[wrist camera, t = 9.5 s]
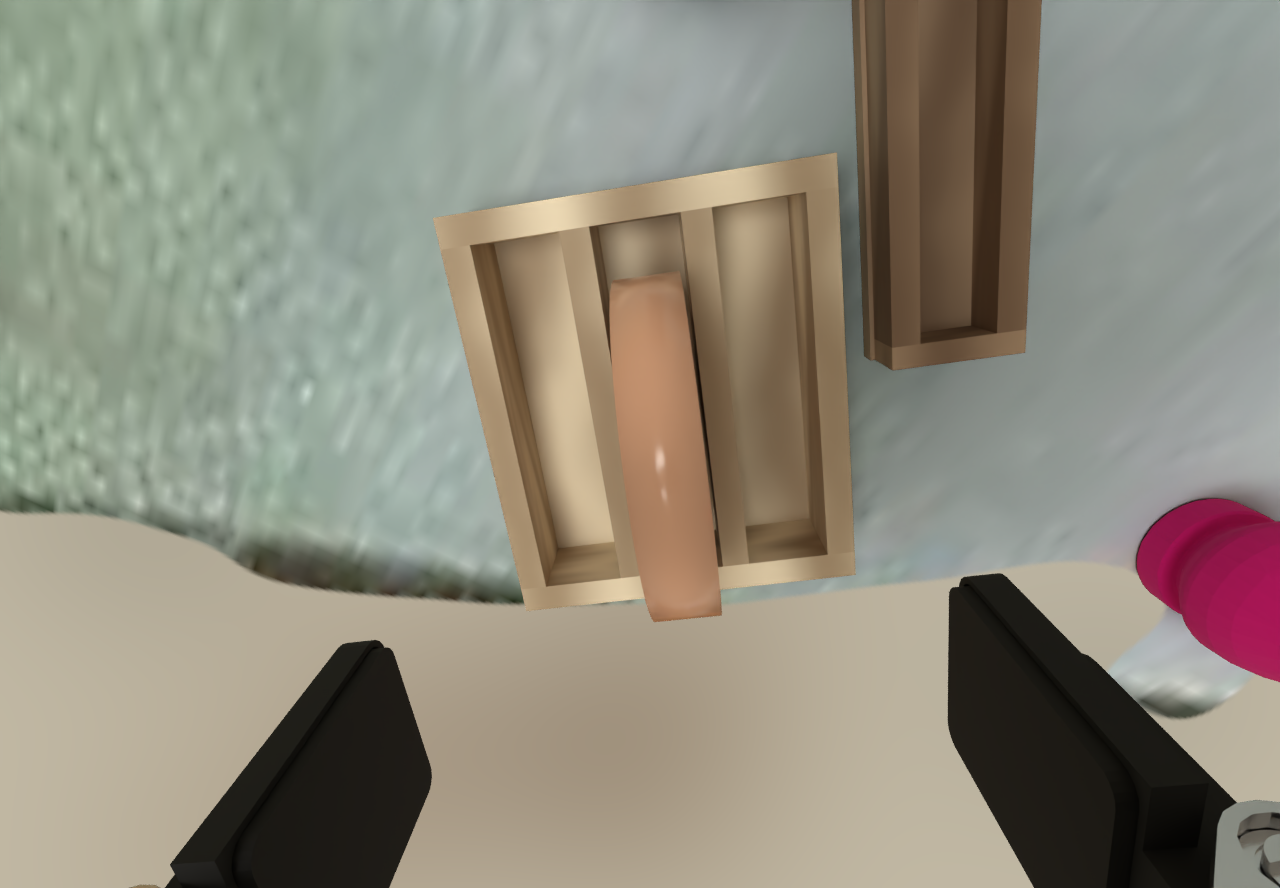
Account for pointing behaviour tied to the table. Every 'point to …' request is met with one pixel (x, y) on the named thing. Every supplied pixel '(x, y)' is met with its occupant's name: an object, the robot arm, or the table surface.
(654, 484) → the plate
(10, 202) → the table surface
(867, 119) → the narrow wooden tray
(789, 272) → the rack
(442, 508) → the table surface
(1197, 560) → the pepper mill
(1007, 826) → the robot arm
